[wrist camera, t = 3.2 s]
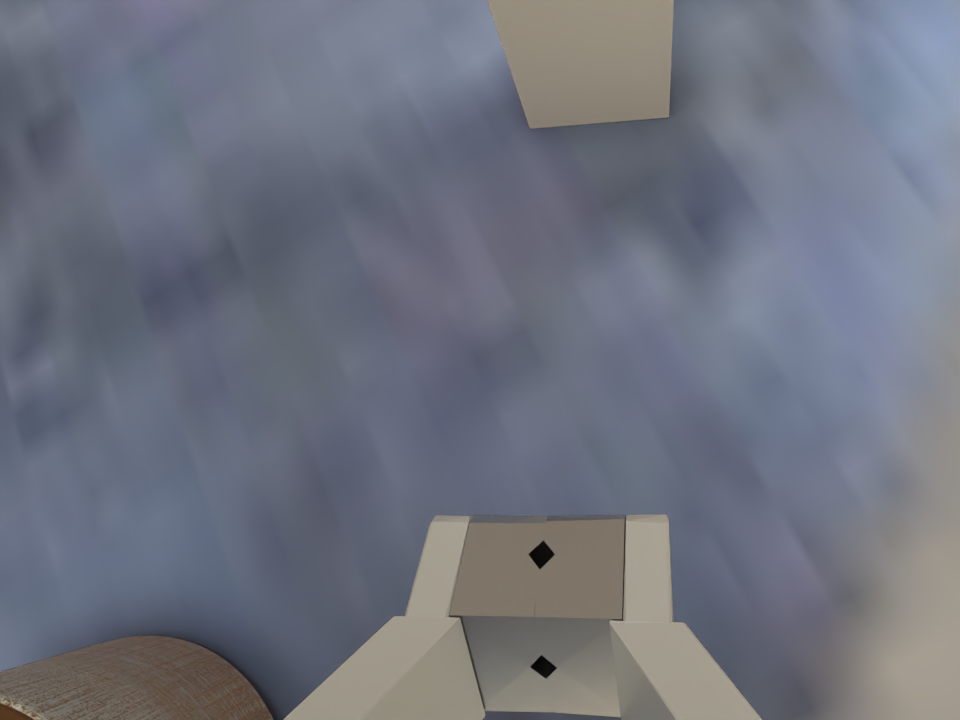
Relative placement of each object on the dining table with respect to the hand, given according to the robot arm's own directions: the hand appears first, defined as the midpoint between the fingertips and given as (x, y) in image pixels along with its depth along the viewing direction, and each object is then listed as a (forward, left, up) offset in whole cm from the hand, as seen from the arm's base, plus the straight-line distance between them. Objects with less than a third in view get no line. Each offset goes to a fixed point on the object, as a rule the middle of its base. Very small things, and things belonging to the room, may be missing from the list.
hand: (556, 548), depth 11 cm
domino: (+5, +14, -18) cm, 24 cm away
